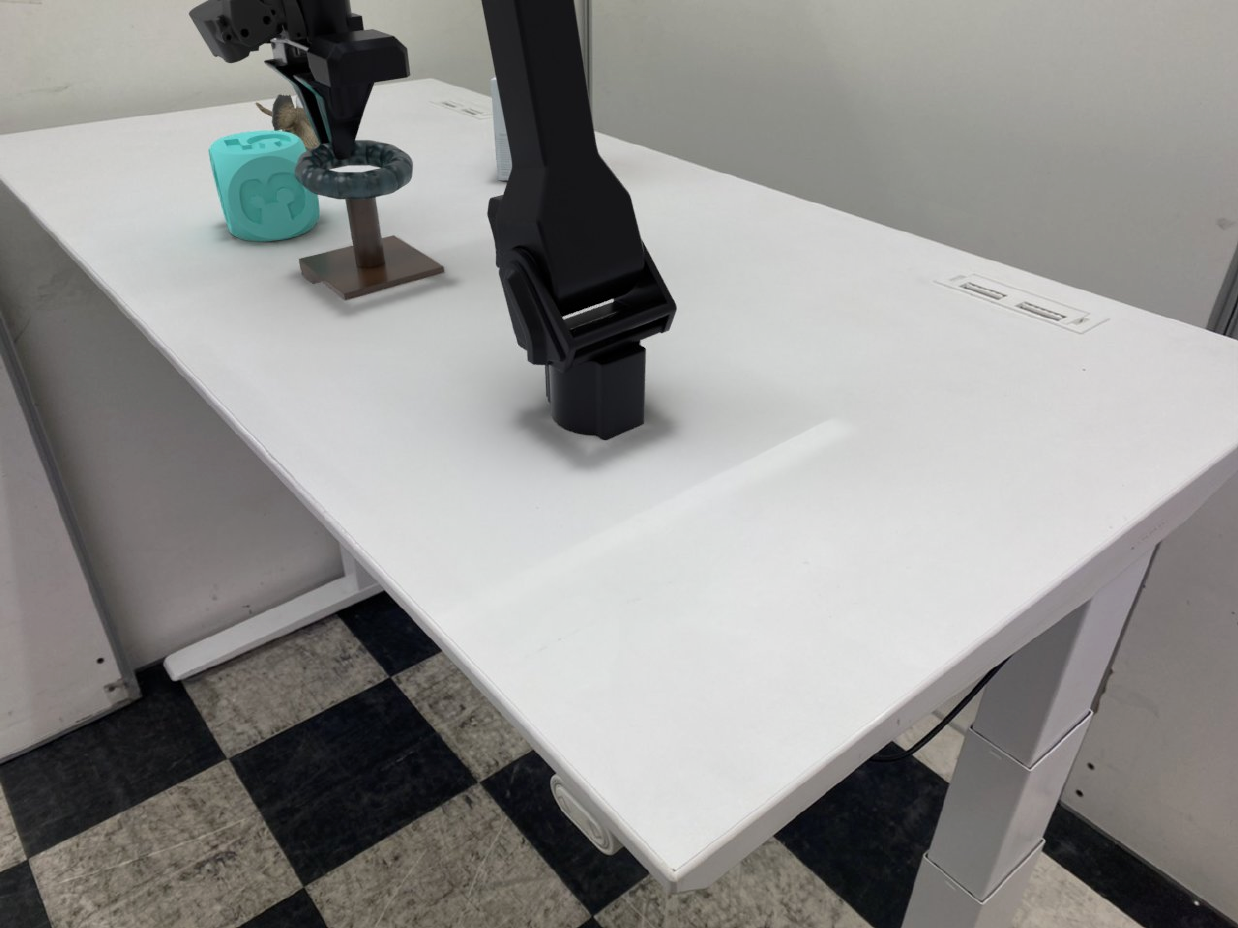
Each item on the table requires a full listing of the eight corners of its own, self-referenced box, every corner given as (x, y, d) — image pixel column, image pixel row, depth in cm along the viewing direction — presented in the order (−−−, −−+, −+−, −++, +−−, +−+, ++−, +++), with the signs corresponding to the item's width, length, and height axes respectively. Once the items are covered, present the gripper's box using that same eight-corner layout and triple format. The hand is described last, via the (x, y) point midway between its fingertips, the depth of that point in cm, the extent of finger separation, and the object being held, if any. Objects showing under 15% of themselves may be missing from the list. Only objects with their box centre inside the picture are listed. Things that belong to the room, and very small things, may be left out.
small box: (546, 184, 100) (542, 81, 94) (496, 181, 100) (489, 78, 94) (562, 162, 106) (559, 64, 100) (514, 159, 107) (509, 62, 101)
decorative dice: (224, 220, 90) (203, 136, 86) (307, 207, 93) (291, 126, 89) (237, 248, 85) (215, 160, 80) (325, 233, 88) (309, 147, 83)
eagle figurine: (243, 135, 110) (259, 140, 103) (264, 77, 109) (281, 77, 102) (305, 163, 114) (325, 169, 107) (325, 108, 114) (346, 110, 106)
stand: (445, 282, 79) (436, 196, 74) (347, 311, 74) (330, 220, 70) (396, 250, 84) (384, 168, 80) (301, 275, 80) (284, 189, 75)
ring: (434, 188, 74) (432, 163, 73) (327, 212, 69) (324, 186, 68) (381, 153, 79) (379, 129, 78) (279, 173, 75) (275, 149, 73)
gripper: (145, -66, 69) (199, 147, 78) (235, -41, 57) (286, 208, 66) (289, -75, 74) (324, 125, 83) (399, -53, 62) (425, 177, 71)
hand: (336, 156), depth 76 cm, fingers closed on ring, 2 cm apart
